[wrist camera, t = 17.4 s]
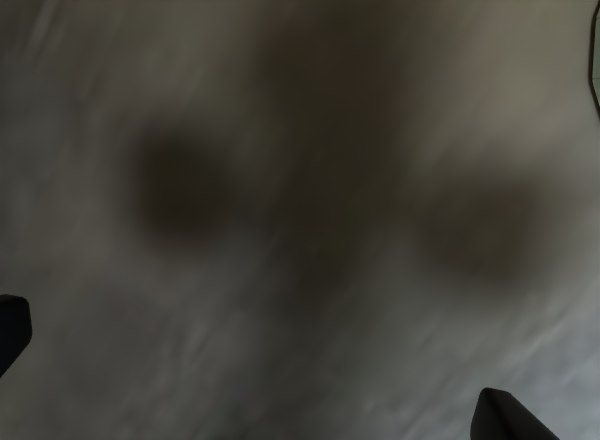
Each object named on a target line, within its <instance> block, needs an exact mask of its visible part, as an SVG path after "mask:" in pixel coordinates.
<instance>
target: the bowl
mask: <svg viewBox="0 0 600 440" xmlns="http://www.w3.org/2000/svg"><path fill="white" fill-rule="evenodd" d="M596 18H597V20H596V29H595V45H594V60H593V76H592V77H593V80H592V82H593V85H594V89H595V92H596V95H597V99H598V102H599V106H600V9H599V11H598V14H597V17H596Z"/></svg>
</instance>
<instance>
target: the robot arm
mask: <svg viewBox="0 0 600 440" xmlns="http://www.w3.org/2000/svg"><path fill="white" fill-rule="evenodd" d="M31 337H32V324H31V316H30V308H29V303H28V301H27V300H26V299H25V298H23V297H19V296H14V295H8V294H4V295H0V378H1V377H2V375H3V374H4V373H5V372H6V371H7V369H8V368H9V367H10V366H11V365H12V363H13V362H14V361H15V360H16V359H17V357H18V356H19V355H20V354H21V353H22V351H23V350H24V349H25V348H26V347H27V345H28V344H29V342H30V340H31ZM470 438H471V440H560V439H559V438H558V437H557V436H556V435H554V434H553V433H552V432H551V431H550V430H549V429H548V428H547V427H546V426H545V425H544V424H543V423H542V422H540V421H539V420H538V419H537V418H536V417H535V416H534V415H533V414H532V413H531V412H530V411H529V410H527V409H526V408H525V407H524V406H523V405H522V404H521V403H520V402H519V401H518V400H517V399H516V398H515V397H513V396H512V395H511V394H510V393H509V392H507V391H503V390H498V389H492V388H484V389H482V391H481V392H480V395H479V399H478V402H477V405H476V409H475V412H474V416H473V419H472V423H471V430H470Z"/></svg>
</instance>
